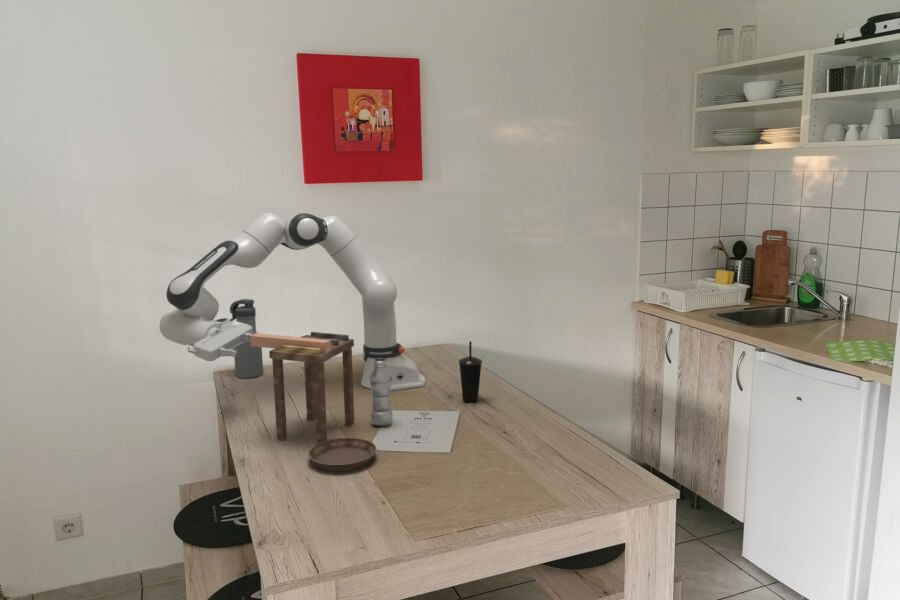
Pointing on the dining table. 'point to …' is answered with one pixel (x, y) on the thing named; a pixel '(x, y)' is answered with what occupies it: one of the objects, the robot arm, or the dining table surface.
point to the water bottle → (247, 342)
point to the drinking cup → (470, 377)
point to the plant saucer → (342, 454)
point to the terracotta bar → (288, 342)
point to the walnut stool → (313, 380)
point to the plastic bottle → (380, 393)
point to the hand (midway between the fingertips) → (246, 347)
